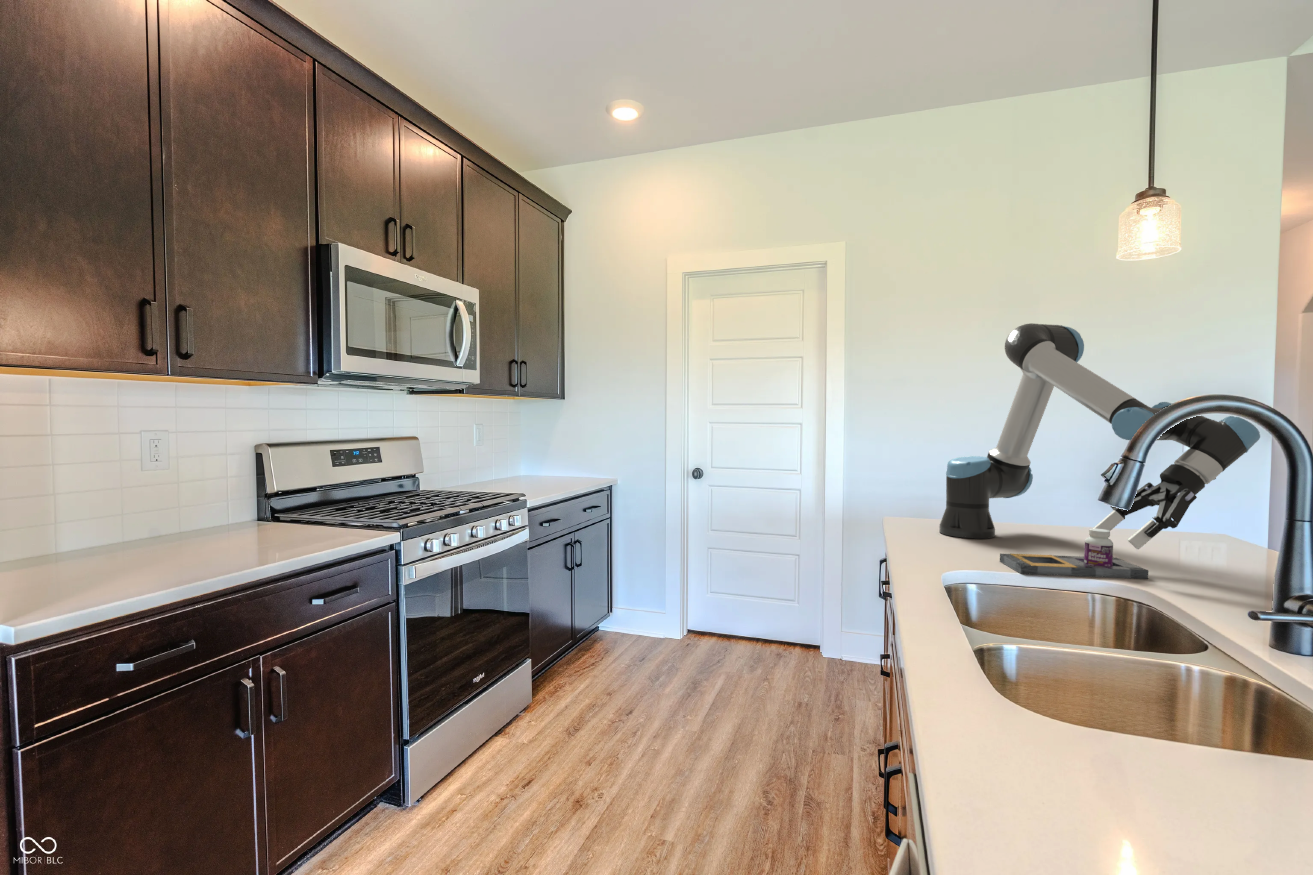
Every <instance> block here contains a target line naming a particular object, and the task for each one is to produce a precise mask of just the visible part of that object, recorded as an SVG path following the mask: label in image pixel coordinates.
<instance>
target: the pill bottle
mask: <svg viewBox="0 0 1313 875" xmlns="http://www.w3.org/2000/svg"><path fill="white" fill-rule="evenodd" d="M1110 537H1111V531H1109V530H1104V529H1093V528H1089V529H1088V537H1086V538H1085V539H1084V554H1083V556H1084V563H1086V564H1088V565H1092V566H1112V563H1113V558H1114V542H1113V541H1112V540H1111V539H1109V538H1110Z"/></svg>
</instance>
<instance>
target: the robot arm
mask: <svg viewBox="0 0 1313 875" xmlns="http://www.w3.org/2000/svg"><path fill="white" fill-rule="evenodd" d="M1004 351H1005V354H1006V357H1007V358H1008V359H1009V361H1010V362H1011V363H1013V364H1014V365H1015V366H1017V367H1018V368H1019V369H1020V370H1021V373H1022V375H1021V379H1020V381H1019V384H1018V386H1017V389H1016V392H1015V395H1014V398H1013V400H1012V404H1011V406H1010V409H1009V411H1008V414H1007V417H1006V420H1005V422H1004V426H1003V427H1002V430H1001V434H1000V436H999V439H998V442H997V445H996V447H993V448H991V449H989V451H988V453H987V456H980V455H975V456H974V455H973V456H972V455H970V456H961V457H956V458H952V459H950V460H949V461H948V462H947V465H946V472H945V474H946V475H945V476H946V480H945V481H946V482H945V483H946V484H945V485H946V487H945V488H946V489H945V490H946V492H945V493H946V494H945V496H946V497H945V498H946V499H945V500H946V501H945V503H946V504H945V510H944V511H943V515H942V517H941V520H940V523H939V526H938V528H939V534H942V535H946V536H951V537H955V538H964V539H977V540H978V539H979V540H980V539H991V538H994V537H996V527H995V525H994V521H993V519H992V515H991V512H990V500H991V499H1010V498H1015V497H1019V496H1021V495H1024V494H1025V493H1026V492H1028V490H1029V489H1030V488H1031V486H1032V483H1033V478H1034V476H1033V473H1032V468H1031V467H1030V465H1031V460H1030V459H1029V456H1028V455H1029V452H1030V449H1031V447H1032V445H1033V442H1034V440H1035V437H1036V434H1037V431H1038V429H1039V427H1040V425H1041V424H1040V423H1041V421H1042V419H1043V416H1044V413H1045V411H1046V409H1047V408H1046V407H1047V406H1048V403H1049V401H1050V398H1051V396H1052V393H1053V390H1054V388H1056V389H1058V390H1060V391H1062V392H1063V393H1064V394H1066V395H1067V396H1068V397H1070V398H1072V399H1073V400H1075V401H1076V402H1077V403H1079V404H1080V405H1081V406H1084V407H1085V408H1087V409H1088V410H1089V411H1091V412H1092V413H1094V414H1095V415H1097V416H1099V417H1100V418H1101V419H1103V420H1104V421H1106V422H1108V423H1109V424H1110V425H1111V428H1112V430H1113V432H1114V434H1115V435H1116V436H1117V437H1118V438H1120V439H1122V440H1125V441H1131V439H1132V437H1133V436H1134V434H1135V433H1136V432H1137V430H1138V429H1139V428H1140V427H1141V426H1142V424H1144V423H1145V421H1147V420H1148V419H1149V418H1150V417H1152V416H1153V415H1155V413H1157V412H1159V411H1160V410H1162V409H1163V408H1165V407H1168V406H1169V405H1171V404H1172V403H1171V402H1168V401H1160V402H1158V403H1157V404H1154V405H1153V406H1152V407H1150V406H1148V405H1147V404H1145V403H1144V402H1142V401H1141V400H1139V399H1137V398H1135V397H1134V396H1132V395H1131V394H1130V393H1127V392H1126V391H1124V390H1122V389H1121V388H1120V387H1118V386H1116V385H1115V384H1113V383H1111V382H1110V381H1108V380H1106V379H1104V378H1103V377H1101V376H1099V375H1098V374H1096V373H1094V372H1093V371H1091V370H1090V369H1088V368H1087V367H1085V366H1084V365H1082V364H1080V363H1079V361H1080V360H1081V358H1082V357H1083V355H1084V351H1085V341H1084V340H1083V337H1082V335H1081V333H1080V332H1078V331H1077V329H1076V328H1072V327H1070V326H1066V325H1061V324H1060V325H1059V324H1046V323H1045V324H1044V323H1043V324H1042V323H1024V324H1021V325H1019V326H1017V327H1015V328H1014V329H1013V330H1012V331H1011V332H1010V333H1009V334H1008V335H1007V337H1006V339H1005V342H1004ZM1260 438H1261V434H1260V431H1259V429H1258V428H1257V427H1256V425H1254V424H1253V423H1251V422H1250V421H1248V420H1246V419H1245V418H1242V417H1239V416H1234V415H1229V416H1226V417H1224V418H1223V419H1221V420H1219V421H1217V420H1215V419H1211V418H1208V417H1206V416H1204V415H1201V416H1196V417H1193V418H1190V419H1186V420H1184V421H1182V422H1180V423H1179V424H1177V425H1175V426H1174V427H1172V428H1170V429H1169V430H1167V431H1166V432H1165V433H1163V434H1162V436H1160V438H1159V439H1157V440H1156V441H1173V442H1176V443H1179V444H1180V445H1182V446H1185V447H1187V448H1188V449H1187V450H1186V451H1184V452H1183V453H1182V454H1181V455H1180V456H1179V457H1177V459H1175V460H1174V461H1173V463H1172V464H1170V465H1169V466H1167V467H1166V468H1165V469H1164V470H1163V471H1162V472H1160V474H1159V478H1160V482H1159V483H1158V484H1156V485H1153V483H1151V482H1150V481H1149V482H1147V483H1146V484H1144V485H1143V486H1142V487H1141V488H1139V489H1137V490H1136V491H1137V494H1136V496H1135V498H1134V503H1133V505H1132V507H1131V509H1130V510H1128V511H1127V510H1123V509H1119V508H1116V507H1112V506H1111V505H1110V508H1111V510H1112V511H1111V512H1110V513H1109V514H1108V515H1106V516H1105V517H1104V518H1103V519H1102V520H1100V522H1098V523H1097V524H1096V525H1095V526H1094V527H1093V528H1092V529H1104V530H1109V531H1110V532H1111V531H1112V530H1113V529H1115V528H1116V527H1117V526H1118V525H1119V524H1121V522H1122V521H1124V520H1125V519H1126V516H1128V515H1131V514H1133V513H1135V512H1138V511H1140V510H1142V509H1145V508H1147V507H1156V506H1158V508H1157V512H1156V516H1153V517H1152V519H1150V520H1149V521H1148V522H1146V523H1144V525H1142V527H1140V528H1139V529H1138V530H1137V531H1135V532H1134V534H1132V535H1131V536H1129V538H1128V539H1127V541H1128V543H1129V544H1131V545H1132V546H1133V547H1134V548H1135V549H1136V550H1140V549H1141V548H1143V546H1144V545H1146V544H1147V543H1148V542H1149V541H1151V540H1152V539H1153V538H1154V537H1156V536H1157V535H1158V534H1159V533H1160V532H1161V531H1162V530H1166V529H1168V528H1171V529H1175V528H1177V527H1178V525H1179V524H1180V522H1181V521H1182V519H1183V517H1184V516H1185V514H1186V512H1187V510H1188V509H1189V508H1190V505H1191V504H1192V503H1193V502H1194V501H1196V499H1197V498H1198V497H1197V495H1198V494H1199V492H1201V491H1202V490H1203V489H1205V487H1206V485H1208V484H1210V483H1211V482H1212V481H1214V480H1217V477H1218V476H1219V475H1221V473H1223V472H1224V471H1225V470H1227V469H1228V467H1230V466H1231V465H1232V464H1234V463H1235V461H1237V460H1239V459H1240V458H1241V457H1242V456H1243V455H1245V454H1246V453H1248V452H1249V450H1250V449H1251V448H1252V447H1253V446H1254V445H1255V444H1256V443H1257V442H1258V441H1259V440H1260Z"/></svg>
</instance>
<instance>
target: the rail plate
mask: <svg viewBox="0 0 1313 875" xmlns="http://www.w3.org/2000/svg"><path fill="white" fill-rule="evenodd" d="M999 562H1000V563H1002V564H1003V565H1005V566H1007V567H1008V568H1010V569H1012V570H1014V571H1015V572H1016V573H1019V574H1021V575H1036V576H1037V575H1041V576H1062V577H1063V576H1064V577H1083V578H1084V577H1085V578H1086V577H1087V578H1109V579H1110V578H1112V579H1134V580H1135V579H1136V580H1138V579H1140V580H1148V579H1149V569H1147V568H1144V567H1141V566H1139V565H1137V564H1134V563H1131V562H1129V561H1126V560H1123V559H1121V558H1118V557H1113V563H1112V566H1092V565H1088V564H1086V563H1084V555H1083V556H1080V555H1079V556H1078V555H1077V556H1076V555H1054V554H1037V553H1035V554H1034V553H999Z"/></svg>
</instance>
